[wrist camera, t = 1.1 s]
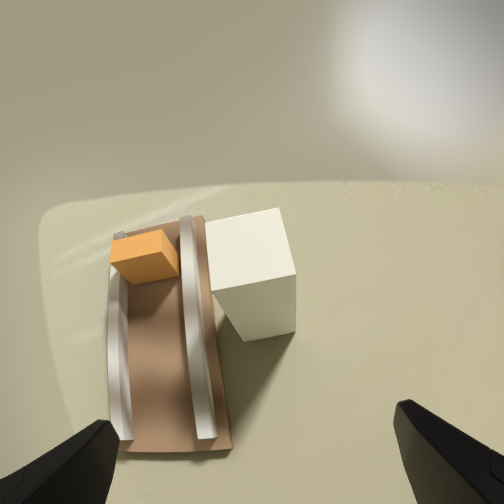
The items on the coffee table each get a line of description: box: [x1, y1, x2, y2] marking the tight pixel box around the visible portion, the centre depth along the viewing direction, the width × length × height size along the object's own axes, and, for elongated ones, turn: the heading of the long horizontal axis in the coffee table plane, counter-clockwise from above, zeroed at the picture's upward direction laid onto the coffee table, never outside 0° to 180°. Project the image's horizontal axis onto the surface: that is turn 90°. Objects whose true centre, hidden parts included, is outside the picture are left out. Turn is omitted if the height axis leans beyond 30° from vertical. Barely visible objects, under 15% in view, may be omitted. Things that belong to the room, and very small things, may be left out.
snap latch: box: [110, 229, 180, 285], centre depth 24 cm, size 2×4×4 cm, turn 99°
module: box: [205, 207, 296, 342], centre depth 20 cm, size 4×4×10 cm
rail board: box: [108, 215, 233, 452], centre depth 23 cm, size 20×9×3 cm, turn 9°
